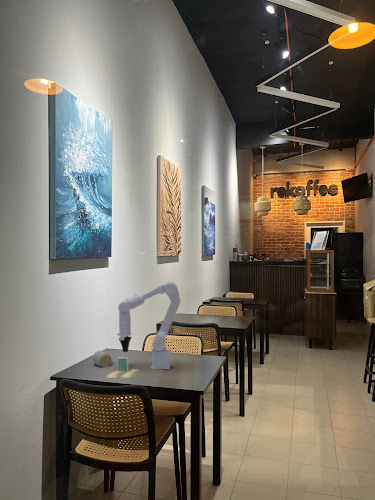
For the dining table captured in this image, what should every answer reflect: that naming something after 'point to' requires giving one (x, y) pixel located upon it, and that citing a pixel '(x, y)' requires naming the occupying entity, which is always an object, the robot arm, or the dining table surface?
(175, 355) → the dining table surface
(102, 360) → the ceramic mug
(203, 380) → the dining table surface
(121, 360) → the tile
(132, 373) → the board
